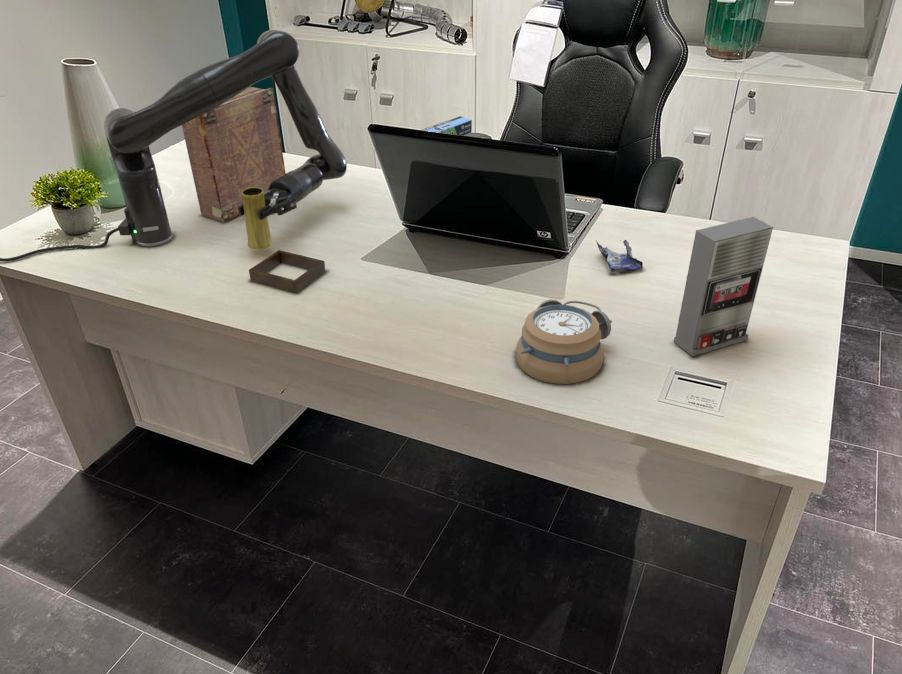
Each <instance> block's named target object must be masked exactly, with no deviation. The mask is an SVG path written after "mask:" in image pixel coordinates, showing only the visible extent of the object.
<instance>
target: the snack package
mask: <svg viewBox="0 0 902 674" xmlns="http://www.w3.org/2000/svg"><path fill="white" fill-rule="evenodd" d="M619 241H620V242H621V241H622V240H621V239H619ZM595 242H596V245H597V247H598V251H599V252H600V254H601V255H602V257H603V259H604V260H605V262H606V264H607V265H608V267H609V269H610V271H611V272H614V271H618V270H624V271H625V272H623V273H629V272H636V271H638V270H642V269H644V263H643V261H641V260H639V259H637V258H635V257H633V254H632V247H631V246H630V242H629V241H628V240H627V239H624V240H623V242H622V243H623V244H624V245H623V246H625V250H626V253H619V252H615V251H612V250H611V249H610V248H608V247H607V246H606V247H603V246H602V244H600V243H599V241H598V240H595Z"/></svg>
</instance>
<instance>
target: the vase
mask: <svg viewBox="0 0 902 674" xmlns="http://www.w3.org/2000/svg"><path fill="white" fill-rule="evenodd" d="M241 193H242V198H243V207H244V221H245V230H246V236H247V238H246V239H247V247H248V248H249V249H251V250H254V251H264V250H266V249H268V248H271V246H273V241H272V236H271V230H270V224H269V223H270V222H269V218H268V217H266V218H264V219H263V220H260V219H258V214H257V212H258V211H259V210H261V209H262V208H264V207H266V205H265V198H264V192H263V189H262V188H259V187H249V188H246V189H244V190H242V192H241Z"/></svg>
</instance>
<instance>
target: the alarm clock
mask: <svg viewBox="0 0 902 674" xmlns="http://www.w3.org/2000/svg"><path fill="white" fill-rule="evenodd" d="M570 304H581V305H586V306H589V307H593V308H594V309H597V310H594V311H593V312H591V313H590V312H589V311H587V310H585V309H583V308H580V307H577V306H574V305H570ZM612 323H613V320H612V319H610V318H609V316H608V315H607V314H606V313H605V312H604V311H602V309H601V308H600V307H599V306H598V305H596V304H593V303H589V302H585V301H580V300H568V301H566V302H564V303H562V302H561V301H559V300H558V299H546V300H544V301H542V302H541V303H540V304H539V305H538V307H537V308H536V309H534V310H532V311H531V312H529V314H528V315H527V316H526V317H525V321H524V324H523V325H522V327H521V335H520V337H519V339H518V340H517V343H516V354H515V355H516V358H515V360H516V363H517V365H518V366H519V368H520V369H521V370H522V371H523V372H524V373H525V374H527V375H528V376H530V377H531V378H534V379H536V380H539V381H541V382H546V383H550V384H559V385H568V384H569V385H570V384H577V383H581V382H584V381H587V380H589V379H591V378H592V377H595V375H596V374H598V372H599V371H600V370H601V368H602V366H603V363H604V361H603V360H604V355H605V354H604V347H603V344H602V343H601V340H605V339H607V338H608V337H609V336H610V335H611V332H612Z"/></svg>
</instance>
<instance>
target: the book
mask: <svg viewBox="0 0 902 674" xmlns="http://www.w3.org/2000/svg"><path fill="white" fill-rule="evenodd" d="M275 99H276V98H275V92H274V88H273V87H269V88H266V89H264V88H260V87H254V86H252V85H251V86H250V87H248V88H247V89H245V90H244V91H242V92H241V93H239V94H238V95H236V96H234V97H233V98H231V99H230V100H228V101H226V102H225V103H223V104H221V105H219V106H218V107H216V108H214V109H212V110H210V111H209V112H207V113H205V114H202V115H200V116H198V117H197V118H195V119H193V120H191V121H189V122H187V123H185V124H183V125H181V128H182V133H183V138H184V142H185V147H186V151H187V155H188V160H189V164H190V170H191V174H192V178H193V179H192V180H193V183H194V187H195V192H196V197H197V201H198V206H199V210H200V214H201V216H203V217H207V218H209V219H212V220H215V221H219V222H222V223H227V222H228V221H231V220H233V219H235V218H238V217H240V215H239V212H238V207H239V206H240V205H242V204H243V199H242V193H241V192H242V190H244V189H246V188H249V187H259V188H262V189H263V191H266V190H268V188H269V186H270V184H271V183H272V182H273V181H274V180H276V179H278V178H280V177H281V176H283V175H285V174H286V167H285V159H284V153H283V145H282V141H281V140H282V139H281V133H280V126H279V119H278V112H277V105H276V100H275Z"/></svg>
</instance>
